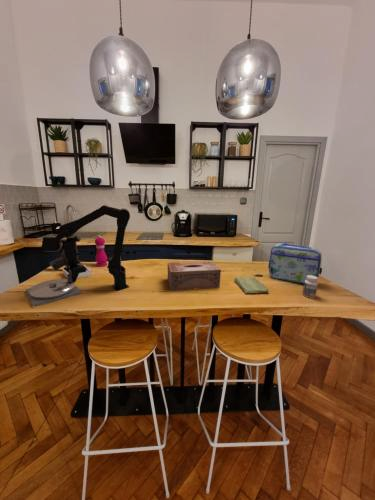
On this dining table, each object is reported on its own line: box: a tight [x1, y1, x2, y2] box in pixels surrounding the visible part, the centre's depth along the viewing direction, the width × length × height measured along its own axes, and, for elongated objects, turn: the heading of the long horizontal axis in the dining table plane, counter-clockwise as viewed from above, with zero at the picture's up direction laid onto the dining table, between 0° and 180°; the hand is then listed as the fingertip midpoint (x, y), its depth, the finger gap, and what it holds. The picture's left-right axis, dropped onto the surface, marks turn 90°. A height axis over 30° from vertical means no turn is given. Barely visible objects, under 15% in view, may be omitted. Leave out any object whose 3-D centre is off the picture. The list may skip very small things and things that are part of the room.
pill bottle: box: [302, 275, 319, 299], centre depth 103 cm, size 6×6×10 cm
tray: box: [62, 264, 93, 279], centre depth 122 cm, size 12×12×3 cm
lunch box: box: [267, 242, 322, 285], centre depth 120 cm, size 26×11×21 cm, turn 57°
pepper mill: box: [94, 235, 108, 268], centre depth 136 cm, size 7×7×20 cm
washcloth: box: [234, 276, 269, 295], centre depth 112 cm, size 13×18×3 cm
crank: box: [29, 274, 76, 299], centre depth 99 cm, size 18×18×6 cm
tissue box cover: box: [167, 260, 222, 291], centre depth 114 cm, size 26×14×10 cm, turn 101°
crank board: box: [25, 284, 83, 307], centre depth 100 cm, size 19×19×1 cm
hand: (74, 282), depth 101 cm, fingers closed
